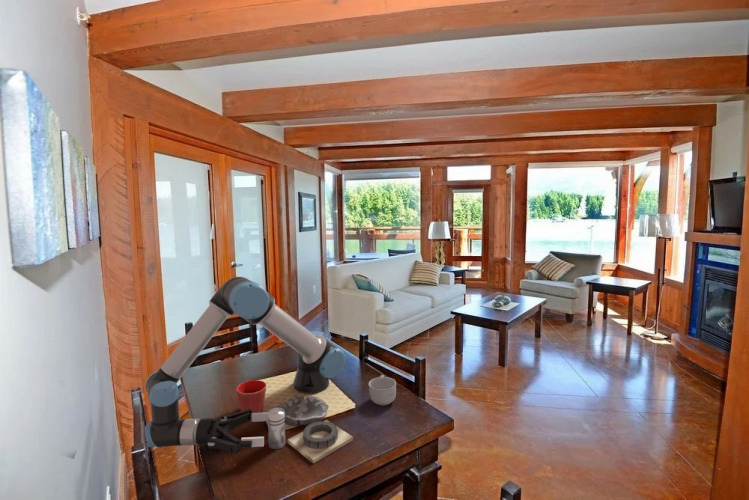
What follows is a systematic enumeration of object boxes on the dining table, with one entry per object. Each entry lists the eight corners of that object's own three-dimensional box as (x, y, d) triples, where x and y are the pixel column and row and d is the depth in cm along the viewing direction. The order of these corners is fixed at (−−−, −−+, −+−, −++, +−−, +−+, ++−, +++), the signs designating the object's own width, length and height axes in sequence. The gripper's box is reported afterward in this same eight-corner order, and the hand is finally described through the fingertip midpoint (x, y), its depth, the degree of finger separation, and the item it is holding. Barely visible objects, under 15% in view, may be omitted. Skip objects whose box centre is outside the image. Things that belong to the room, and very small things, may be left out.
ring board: (287, 442, 121) (287, 432, 120) (326, 422, 132) (326, 413, 132) (313, 463, 111) (313, 452, 111) (353, 440, 123) (353, 429, 122)
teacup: (393, 410, 141) (393, 390, 140) (365, 407, 143) (365, 387, 142) (398, 392, 155) (398, 374, 154) (373, 389, 157) (373, 371, 156)
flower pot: (272, 406, 143) (272, 382, 142) (254, 421, 133) (254, 395, 132) (249, 401, 147) (249, 377, 146) (230, 415, 136) (229, 390, 135)
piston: (265, 444, 120) (264, 411, 119) (279, 436, 124) (279, 405, 123) (274, 451, 117) (273, 418, 115) (288, 443, 120) (287, 411, 119)
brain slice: (330, 402, 147) (330, 395, 146) (326, 428, 130) (326, 419, 129) (280, 402, 146) (280, 395, 146) (269, 428, 129) (269, 420, 129)
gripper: (212, 420, 130) (274, 417, 132) (183, 470, 105) (260, 465, 107) (211, 400, 129) (274, 397, 131) (181, 445, 104) (259, 441, 106)
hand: (268, 428), depth 119 cm, fingers open, 13 cm apart
